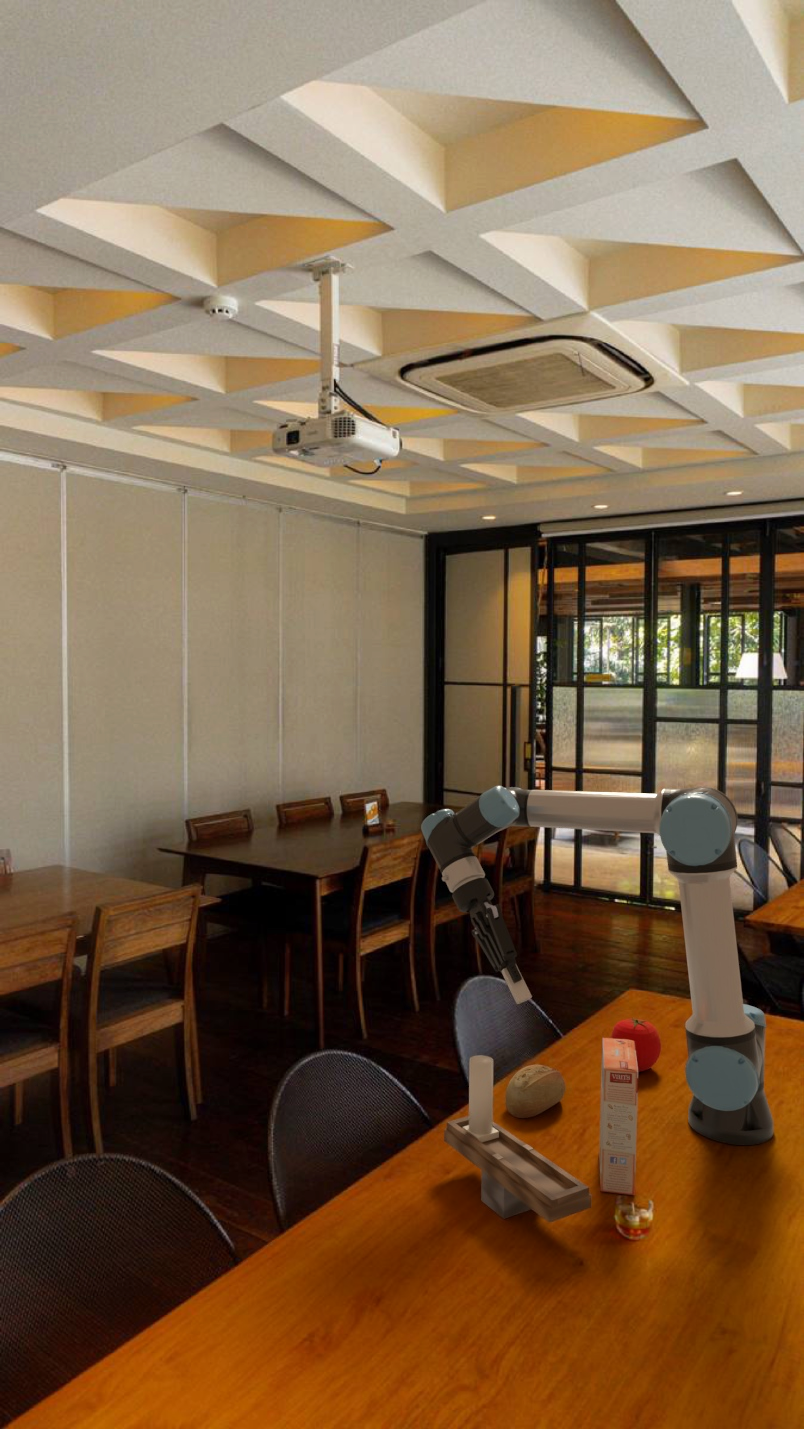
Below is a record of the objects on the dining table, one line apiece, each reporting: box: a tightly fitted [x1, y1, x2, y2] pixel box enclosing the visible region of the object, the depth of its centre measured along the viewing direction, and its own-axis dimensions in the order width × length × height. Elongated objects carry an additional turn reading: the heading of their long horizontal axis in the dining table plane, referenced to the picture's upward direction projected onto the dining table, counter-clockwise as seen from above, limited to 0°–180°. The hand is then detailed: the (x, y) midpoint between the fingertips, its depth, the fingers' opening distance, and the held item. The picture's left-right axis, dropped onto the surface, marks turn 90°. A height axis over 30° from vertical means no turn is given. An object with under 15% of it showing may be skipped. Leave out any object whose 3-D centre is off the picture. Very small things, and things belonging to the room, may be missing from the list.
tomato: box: [610, 1017, 662, 1073], centre depth 204 cm, size 10×11×11 cm
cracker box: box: [598, 1037, 639, 1196], centre depth 160 cm, size 14×6×21 cm, turn 168°
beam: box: [443, 1115, 592, 1224], centre depth 151 cm, size 28×8×8 cm, turn 31°
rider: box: [462, 1054, 499, 1142], centre depth 159 cm, size 4×4×13 cm
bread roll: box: [504, 1063, 566, 1119], centre depth 185 cm, size 10×15×8 cm, turn 139°
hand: (524, 1000), depth 171 cm, fingers closed
